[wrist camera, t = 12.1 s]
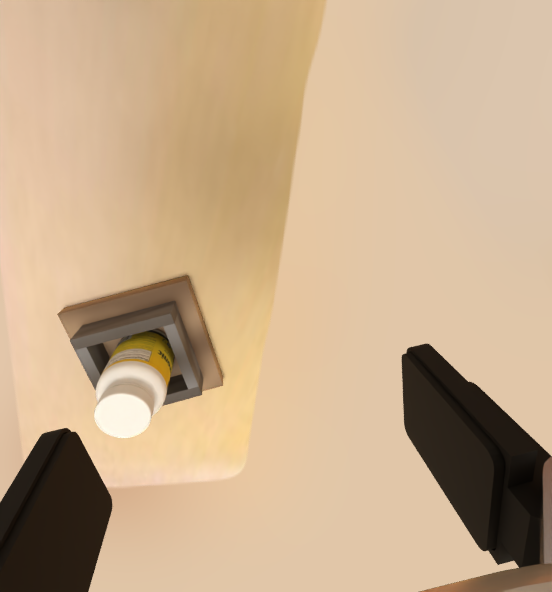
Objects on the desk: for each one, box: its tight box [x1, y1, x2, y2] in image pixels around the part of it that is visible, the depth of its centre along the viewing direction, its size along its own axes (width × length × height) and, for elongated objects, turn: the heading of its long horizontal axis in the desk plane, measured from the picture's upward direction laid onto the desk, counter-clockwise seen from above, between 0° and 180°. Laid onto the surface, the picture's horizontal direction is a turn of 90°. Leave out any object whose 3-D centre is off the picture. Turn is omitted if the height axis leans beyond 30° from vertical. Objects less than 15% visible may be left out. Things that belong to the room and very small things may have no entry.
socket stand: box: [57, 276, 223, 406], centre depth 35 cm, size 12×12×4 cm
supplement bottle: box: [94, 329, 175, 438], centre depth 31 cm, size 5×5×10 cm
